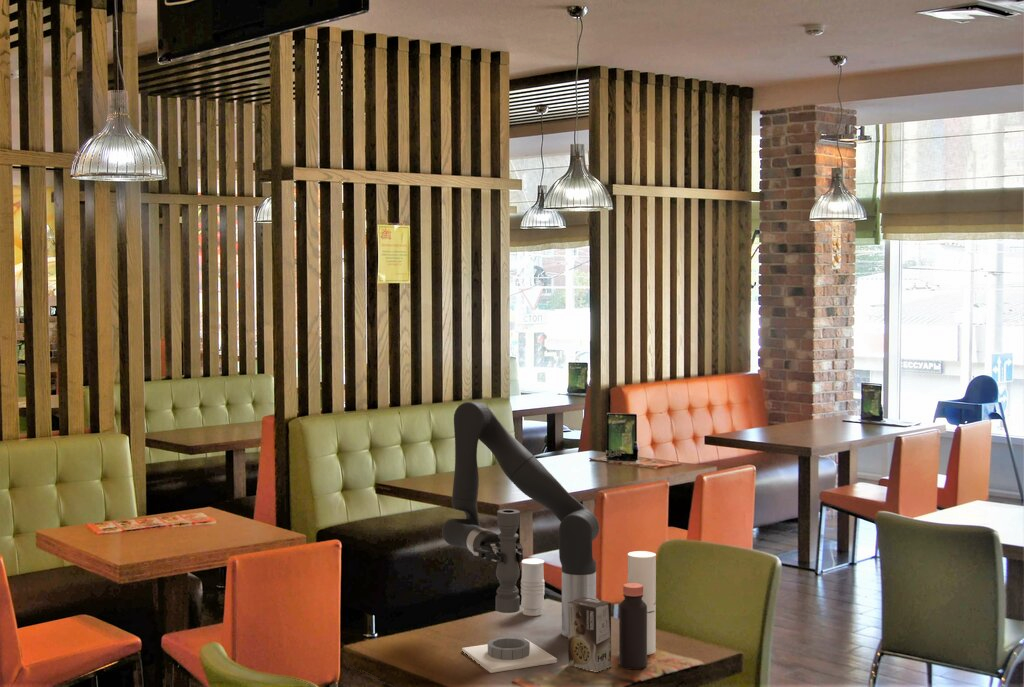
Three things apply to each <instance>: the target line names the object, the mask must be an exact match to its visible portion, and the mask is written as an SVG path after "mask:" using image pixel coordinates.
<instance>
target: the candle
mask: <svg viewBox="0 0 1024 687" xmlns="http://www.w3.org/2000/svg"><path fill="white" fill-rule="evenodd" d="M520 564H521V579H520V595H521V598H520V600H521V601H520V607H522V609H523V610H522V614H523V615H525V616H530V617H534V616H541V615H542V614H544V612H543V608H544V607H545V599H544V598H545V597H544V596H545V590H546V589H545V586H546V584H545V579H544V564H545V560H544V559H540V558H533V557H532V558H523V560H522V562H520Z"/></svg>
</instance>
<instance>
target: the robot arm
mask: <svg viewBox="0 0 1024 687" xmlns="http://www.w3.org/2000/svg"><path fill="white" fill-rule="evenodd" d="M453 428H454V429H453V430H454V431H453V432H454V452H455V453H454V472H453V474H454V476H453V483H452V484H453V485H452V493H451V506H452V508H453V509H454V510H457V511H461V512H464V514H465V518H449V519H447V520H446V521H445V522H444V523H443V525H442V527H441V536H442V539H443V540H444V542H446V543H447V544H448V545H450V546H453V547H457V548H460V549H466V551H469V552H471V554H473V555H472V557H473V559H477V560H480V561H484V562H487V563H494V562H497V563H498V562H500V563H502V564H506V555H504V554H503V553H501V541H500V539H499V538H498V535H499V533H496V532H493V531H492V530H490V529H487V528H483V527H482V526H481V524H480V520H479V510H478V496H479V486H480V485H479V482H480V481H479V479H480V478H479V467H478V444H479V441H480V442H481V443H482V444H484V445H485V446H486V447H487V449H488V450H490V452H491V453H492V454H493V456H494V458H495V459H496V461H497V463H498V465H499V466H500V469H501V471H503V473H504V474H505V476H506V477H507V478H508V479H509V480H510V482H511V483H513V484H514V485H515V487H516V488H517V489H518V490H519V491H520V492H521V493H523V494H524V495H525V496H527V497H528V498H530V499H531V500H533V501H535V502H536V503H538V504H540V505H542V506H543V507H545V508H546V509H547V510H549V511H550V512H551V513H552V514H553V515H554V516H555V517H556V518H557V520H559V522H560V524H559V527H558V554H559V556H558V557H559V562H560V564H561V635H562V636H563V637H564V638H568V602H570V601H573V600H575V599H578V598H581V597H586V598H591V599H596V600H599V598H597V562H596V560H595V559H594V557H593V541H594V540H595V539H596V538H598V535H599V532H600V523H599V520H598V518H597V517H596V515H595V514H594V513H593V512H592V511H591V510H589V509H588V508H587V507H586V506H585V505H584V504H582V503H581V502H580V501H579V500H578V499H576V498H575V497H574V496H572V494H571V493H569V492H568V491H567V489H565V488H564V487H563V485H562V484H561V483H560V482H559V481H558V480H557V479H556V477H555V476H554V475H553V474H552V473H551V472H550V471H549V470H548V469H547V468H546V467H545V466H544V465H543V464H542V462H540V460H539V459H537V458H536V456H534V455H533V454H532V452H530V450H528V449H527V448H526V447H525V446H524V445H523V444H522V443H521V442H520V441H518V440H517V439H516V438H515V437H514V436H513V435H512V434H511V433H510V432H509V431H508V430H507V429H506V427H505V426H504V425H503V424H502V423H501V421H500V420H499V419H498V418H497V416H496V414H494V412H493V411H492V410H491V408H489V407H488V405H486V404H485V403H483V402H480V401H466V402H463V403H461V404H459V405H458V407H457V408H456V409H455V410H454V413H453ZM523 551H524V548H523V546H522V543H519V542H518V543H516V556H517V562H518V563H521V562H522V560H524V552H523Z"/></svg>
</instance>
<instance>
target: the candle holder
mask: <svg viewBox="0 0 1024 687" xmlns="http://www.w3.org/2000/svg"><path fill="white" fill-rule="evenodd" d="M496 513H497V516H496V517H497V520H496V521H497V525H498V529H499V531H500V532H499V533H498V538H499V539H500V541H501V553H503V554H504V555H506V564H502V563H500V562H498V561H497V566H496V570H495V576H496V578H497V580H498V581H499V582H498V584H499V585H498V587H497V589H496V595H495V609H494V610H495V611H496V612H498V613H501V614H502V613H503V614H514V613H518V612H519V611H520V610H521V609H520V607H521V601H520V600H521V597H520V595H519V592H520V591H519V590H520V589H519V588H518V587H517V583H518V582H517V581H518V580H519V578H520V576H521V570H520V566H519V562H517V556H516V544H517V539H519V534H518V533H517V530H518V529H519V525H520V524H521V523H520V520H521V519H520V518H521V516H520V514H521V511H520V510H518V509H514V508H513V509H512V508H509V509H508V508H505V509H504V508H503V509H499V510H497V512H496Z"/></svg>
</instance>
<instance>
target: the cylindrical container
mask: <svg viewBox="0 0 1024 687" xmlns="http://www.w3.org/2000/svg"><path fill="white" fill-rule="evenodd" d="M656 557H657V554H656V553H655V552H652V551H646V550H637V551H636V550H635V551H630V552H627V583H639V584H642V585H643V597H642V600H643V601H644V603H645V604H646V605H647V656H649V655H652V654H655V653H656V650H657V649H656V641H657V640H656V633H657V632H656V630H657V627H656V625H657V624H656V622H657V619H656V616H657V615H656V612H657V611H656V608H657V607H656V604H657V603H656V601H657V597H656V595H657V593H656V591H657V581H656V580H657V578H656V577H657V576H656V575H657V562H656V561H657V558H656Z"/></svg>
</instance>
